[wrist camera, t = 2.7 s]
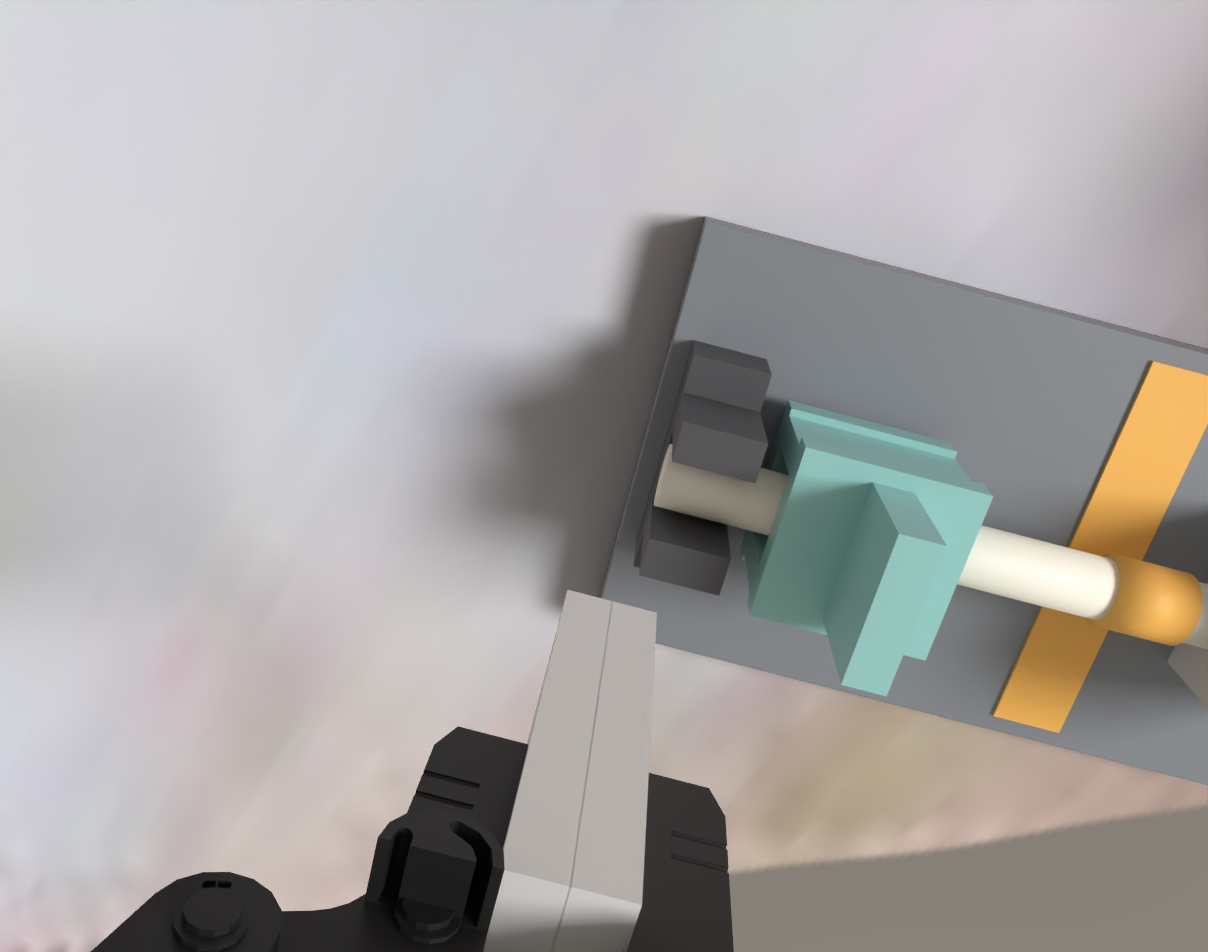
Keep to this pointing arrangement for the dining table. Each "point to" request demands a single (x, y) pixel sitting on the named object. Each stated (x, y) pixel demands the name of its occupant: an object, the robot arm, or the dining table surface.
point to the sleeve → (863, 540)
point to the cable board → (987, 455)
